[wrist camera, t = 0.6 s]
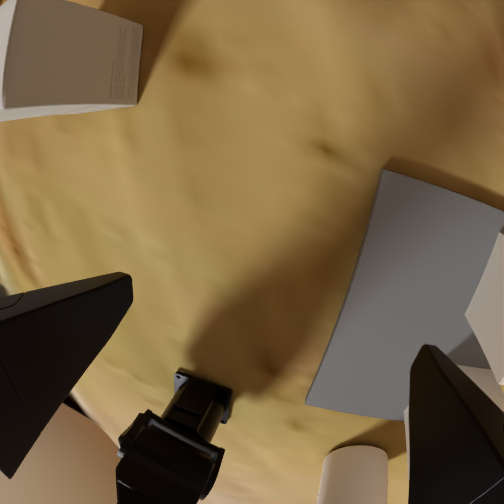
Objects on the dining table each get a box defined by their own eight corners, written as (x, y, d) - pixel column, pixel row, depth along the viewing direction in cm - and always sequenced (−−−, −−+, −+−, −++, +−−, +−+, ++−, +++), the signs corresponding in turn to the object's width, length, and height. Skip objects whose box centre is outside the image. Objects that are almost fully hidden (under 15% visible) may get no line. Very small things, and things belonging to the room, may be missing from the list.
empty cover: (456, 416, 23) (468, 477, 16) (403, 411, 24) (408, 479, 17) (493, 369, 20) (517, 432, 13) (437, 361, 21) (456, 434, 14)
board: (461, 419, 24) (462, 425, 23) (305, 396, 28) (304, 404, 27) (564, 240, 15) (570, 244, 14) (381, 168, 19) (383, 169, 18)
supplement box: (146, 23, 18) (22, -15, 7) (138, 107, 21) (2, 114, 10) (82, 41, 20) (-31, 30, 8) (76, 114, 23) (-42, 131, 11)
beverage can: (339, 436, 29) (326, 528, 18) (399, 445, 28) (399, 531, 17) (315, 464, 32) (298, 542, 22) (369, 473, 31) (362, 547, 21)
